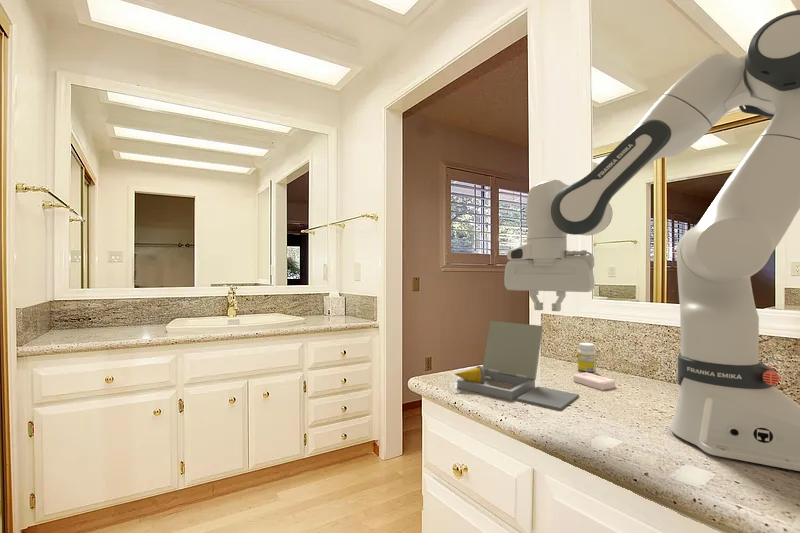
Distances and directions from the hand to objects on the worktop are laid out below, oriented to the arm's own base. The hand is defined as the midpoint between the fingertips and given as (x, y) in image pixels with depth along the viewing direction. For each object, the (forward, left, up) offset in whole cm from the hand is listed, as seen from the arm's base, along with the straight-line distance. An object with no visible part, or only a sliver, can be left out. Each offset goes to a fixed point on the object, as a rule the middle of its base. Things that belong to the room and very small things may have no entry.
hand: (547, 310), depth 95 cm
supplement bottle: (0, -30, -21) cm, 37 cm away
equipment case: (+13, 0, -21) cm, 25 cm away
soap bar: (-5, -19, -21) cm, 29 cm away
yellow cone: (+15, 0, -19) cm, 23 cm away
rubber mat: (0, 0, -21) cm, 21 cm away
